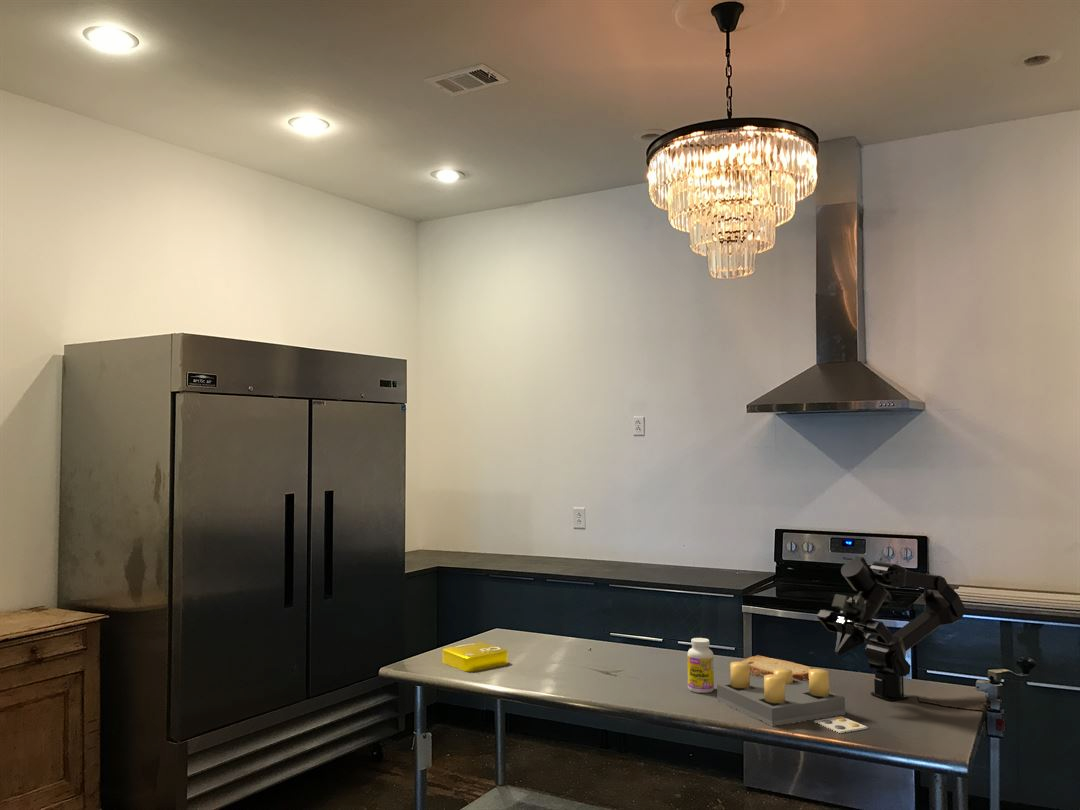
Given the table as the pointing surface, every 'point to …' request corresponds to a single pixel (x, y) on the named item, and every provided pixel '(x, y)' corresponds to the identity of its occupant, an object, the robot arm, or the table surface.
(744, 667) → the button
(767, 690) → the button
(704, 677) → the supplement bottle
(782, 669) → the button
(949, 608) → the robot arm
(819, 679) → the button
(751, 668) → the slice of bread
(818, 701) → the grey flat square block
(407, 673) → the table surface
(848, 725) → the card
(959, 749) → the table surface
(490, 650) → the element tile
